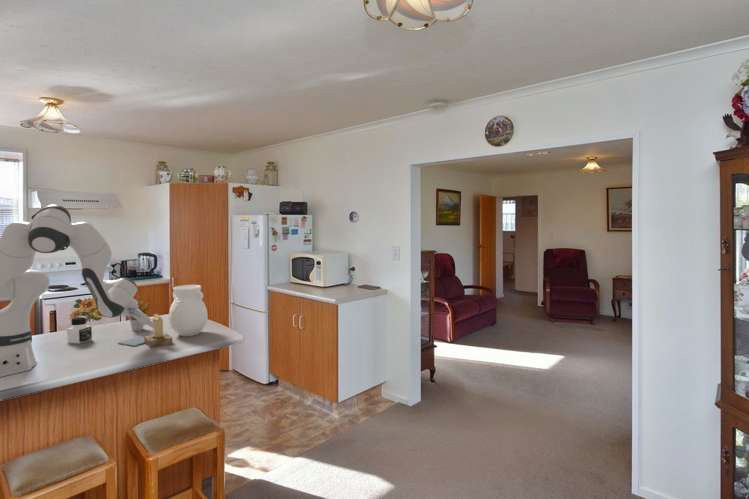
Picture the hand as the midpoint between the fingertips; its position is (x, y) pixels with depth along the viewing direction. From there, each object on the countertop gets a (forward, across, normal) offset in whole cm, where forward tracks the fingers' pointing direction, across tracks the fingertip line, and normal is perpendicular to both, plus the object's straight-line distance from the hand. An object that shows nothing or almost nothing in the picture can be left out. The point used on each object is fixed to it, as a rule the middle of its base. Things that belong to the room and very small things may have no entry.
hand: (151, 324), depth 203 cm
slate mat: (+3, +9, +10) cm, 14 cm away
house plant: (+6, +33, +8) cm, 34 cm away
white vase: (+20, +9, -6) cm, 23 cm away
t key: (+9, +1, +5) cm, 10 cm away
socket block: (+9, +1, +5) cm, 10 cm away
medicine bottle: (-12, +27, +26) cm, 39 cm away
